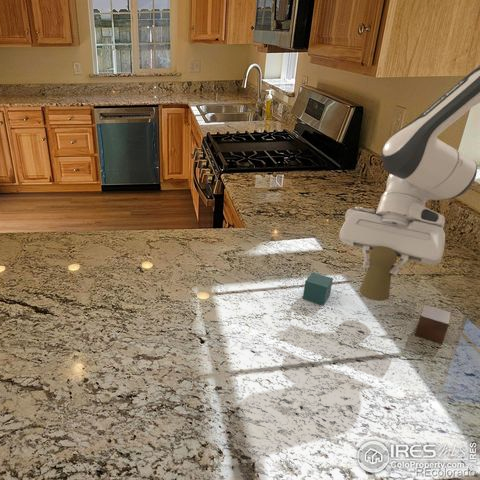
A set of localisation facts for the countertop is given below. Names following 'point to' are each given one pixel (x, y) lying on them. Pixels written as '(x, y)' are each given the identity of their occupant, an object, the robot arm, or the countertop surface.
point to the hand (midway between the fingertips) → (379, 271)
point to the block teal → (317, 288)
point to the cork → (378, 274)
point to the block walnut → (433, 324)
